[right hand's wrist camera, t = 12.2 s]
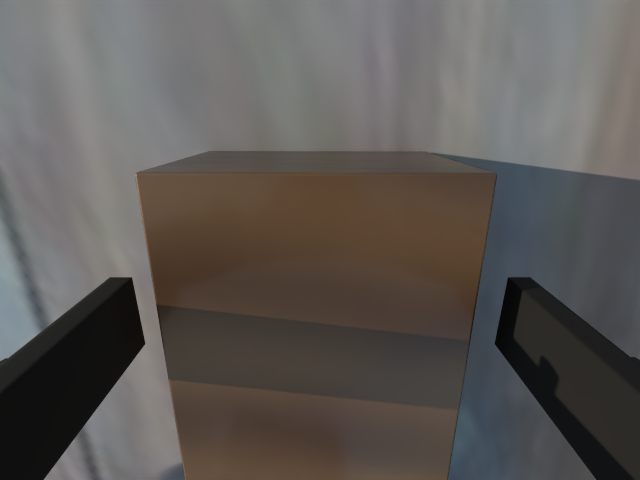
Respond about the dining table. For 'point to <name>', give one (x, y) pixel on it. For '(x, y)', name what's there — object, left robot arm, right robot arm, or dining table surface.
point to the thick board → (316, 308)
